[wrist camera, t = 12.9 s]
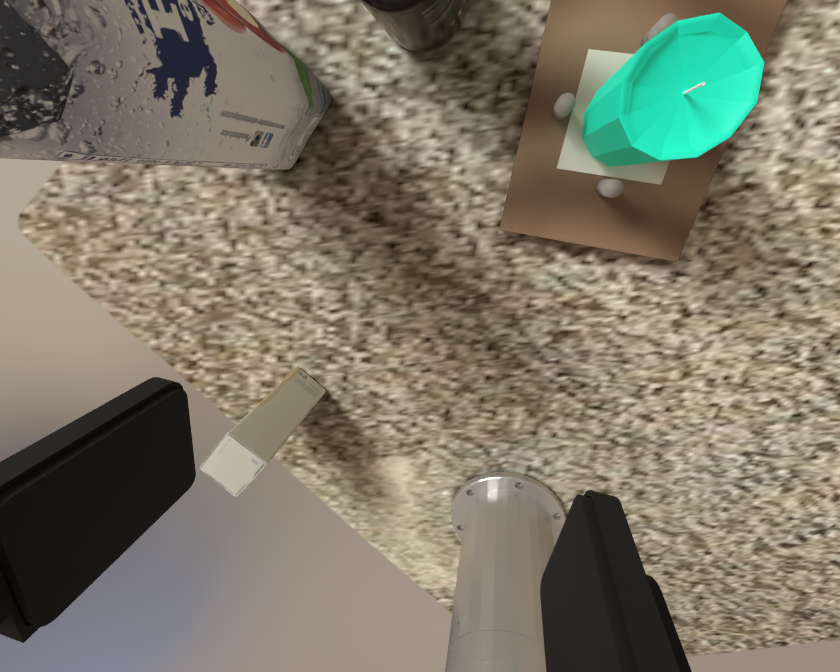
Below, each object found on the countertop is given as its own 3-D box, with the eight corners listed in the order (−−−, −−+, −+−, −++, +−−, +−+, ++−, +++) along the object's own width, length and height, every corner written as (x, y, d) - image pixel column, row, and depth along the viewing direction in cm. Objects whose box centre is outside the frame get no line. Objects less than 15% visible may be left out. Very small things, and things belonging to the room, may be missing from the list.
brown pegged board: (671, 258, 31) (693, 270, 28) (499, 227, 33) (498, 234, 29) (788, -24, 24) (840, -62, 20) (561, -44, 26) (570, -82, 22)
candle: (678, 149, 28) (790, 129, 17) (589, 179, 29) (638, 179, 19) (667, 55, 26) (783, -35, 15) (573, 93, 28) (616, 38, 17)
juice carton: (296, 186, 36) (-169, 201, 11) (205, 103, 35) (-532, -80, 10) (351, 98, 32) (-162, -167, 7) (250, 3, 31) (-730, -669, 6)
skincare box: (298, 365, 43) (226, 429, 32) (329, 391, 43) (268, 463, 32) (271, 398, 46) (195, 468, 34) (300, 422, 46) (234, 499, 35)
